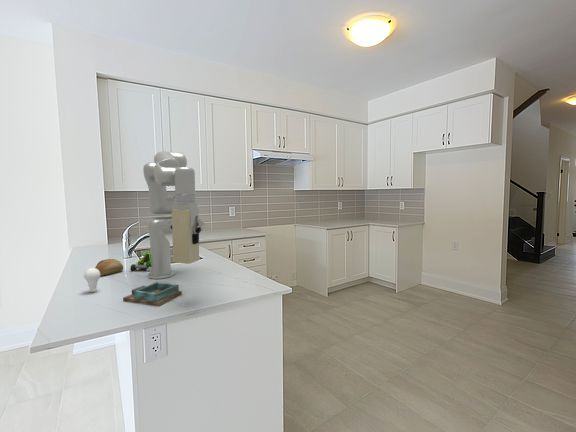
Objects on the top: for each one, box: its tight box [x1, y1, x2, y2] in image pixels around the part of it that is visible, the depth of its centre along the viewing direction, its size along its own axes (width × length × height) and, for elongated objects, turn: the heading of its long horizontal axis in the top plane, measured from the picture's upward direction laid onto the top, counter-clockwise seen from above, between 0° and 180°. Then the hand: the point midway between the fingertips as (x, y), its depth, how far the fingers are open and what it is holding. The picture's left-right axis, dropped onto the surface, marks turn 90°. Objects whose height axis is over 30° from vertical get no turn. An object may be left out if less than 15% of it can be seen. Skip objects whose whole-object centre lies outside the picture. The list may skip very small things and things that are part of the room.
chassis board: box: [122, 281, 183, 307], centre depth 124 cm, size 18×14×4 cm
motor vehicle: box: [129, 247, 151, 272], centre depth 173 cm, size 12×19×11 cm, turn 2°
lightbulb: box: [83, 267, 101, 293], centre depth 130 cm, size 6×6×11 cm
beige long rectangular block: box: [171, 209, 200, 265], centre depth 116 cm, size 8×7×21 cm
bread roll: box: [94, 258, 124, 277], centre depth 160 cm, size 10×15×8 cm, turn 155°
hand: (186, 242), depth 116 cm, fingers closed on beige long rectangular block, 8 cm apart
